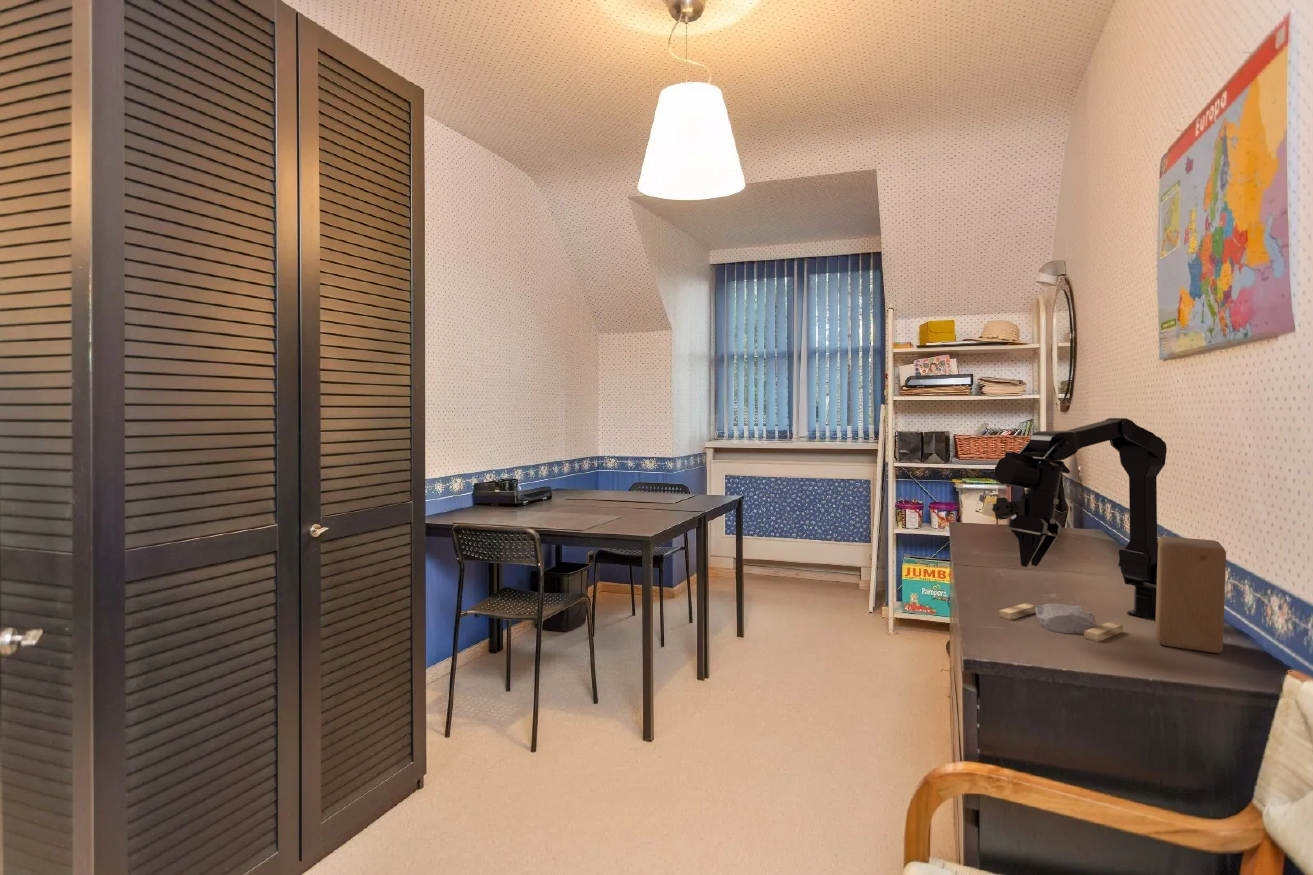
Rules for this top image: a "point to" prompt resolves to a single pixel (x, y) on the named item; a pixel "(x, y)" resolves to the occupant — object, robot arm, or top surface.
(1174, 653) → the top surface
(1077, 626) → the stone block
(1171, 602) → the wooden block
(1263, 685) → the top surface
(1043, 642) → the top surface
